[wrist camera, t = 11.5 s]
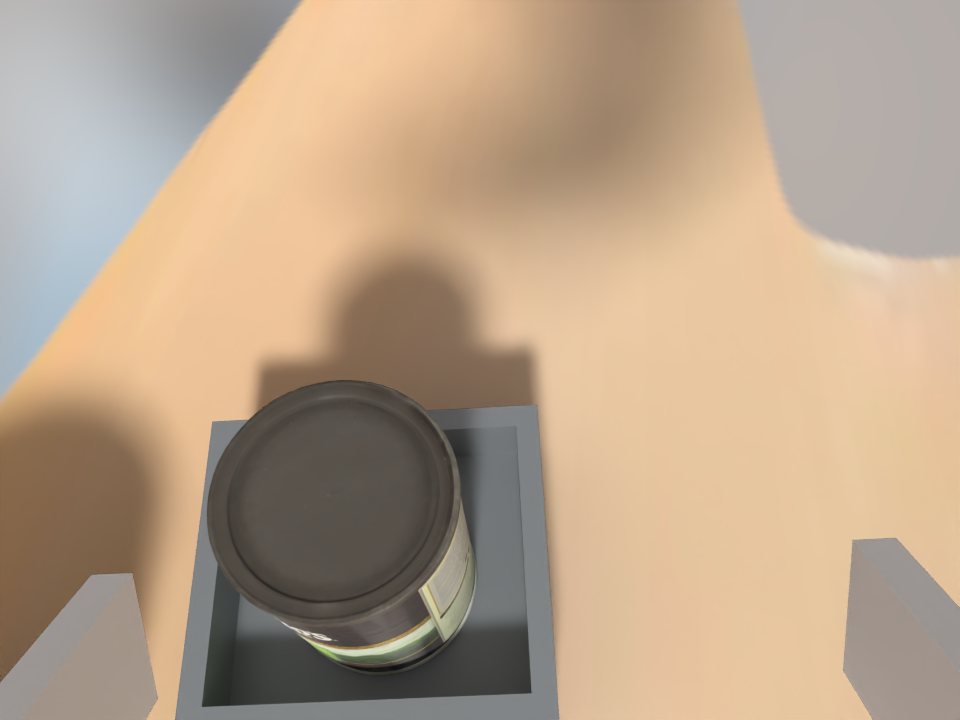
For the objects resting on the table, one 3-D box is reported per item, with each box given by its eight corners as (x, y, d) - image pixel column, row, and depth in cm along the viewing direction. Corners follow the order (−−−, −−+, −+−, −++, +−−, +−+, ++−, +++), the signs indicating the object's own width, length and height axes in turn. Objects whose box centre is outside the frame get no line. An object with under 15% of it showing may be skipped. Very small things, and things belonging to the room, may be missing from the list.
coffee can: (374, 721, 43) (310, 685, 31) (255, 575, 47) (156, 491, 35) (519, 579, 46) (514, 494, 34) (396, 453, 50) (350, 335, 38)
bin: (536, 452, 53) (537, 404, 47) (555, 732, 45) (559, 720, 39) (249, 466, 54) (212, 421, 47) (221, 746, 46) (173, 735, 40)
